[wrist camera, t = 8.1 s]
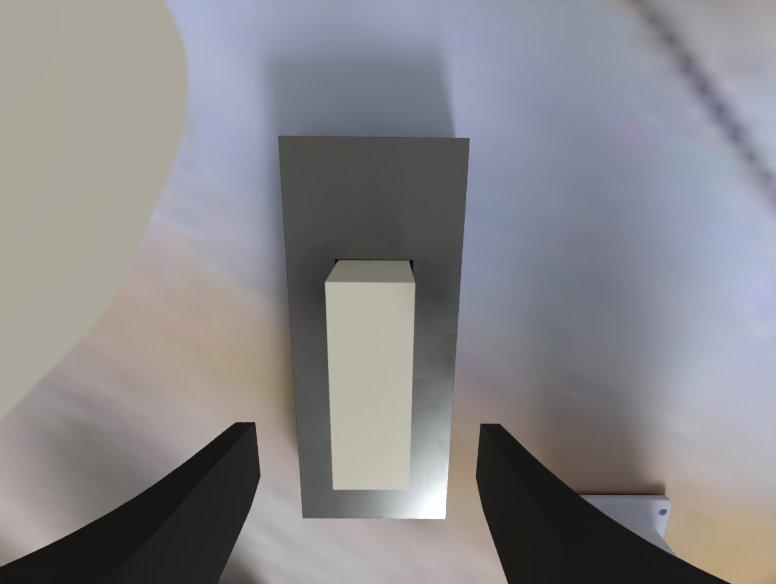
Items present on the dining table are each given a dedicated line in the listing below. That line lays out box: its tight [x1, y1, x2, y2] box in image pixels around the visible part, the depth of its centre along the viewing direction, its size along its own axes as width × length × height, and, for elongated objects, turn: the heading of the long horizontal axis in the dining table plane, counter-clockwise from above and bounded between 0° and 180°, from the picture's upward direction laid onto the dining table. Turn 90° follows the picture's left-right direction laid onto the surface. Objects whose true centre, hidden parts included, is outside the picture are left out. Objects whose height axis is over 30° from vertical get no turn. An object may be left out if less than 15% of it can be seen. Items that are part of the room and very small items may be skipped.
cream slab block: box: [325, 259, 415, 490], centre depth 18 cm, size 9×3×7 cm, turn 179°
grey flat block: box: [278, 136, 470, 519], centre depth 20 cm, size 20×8×3 cm, turn 179°
